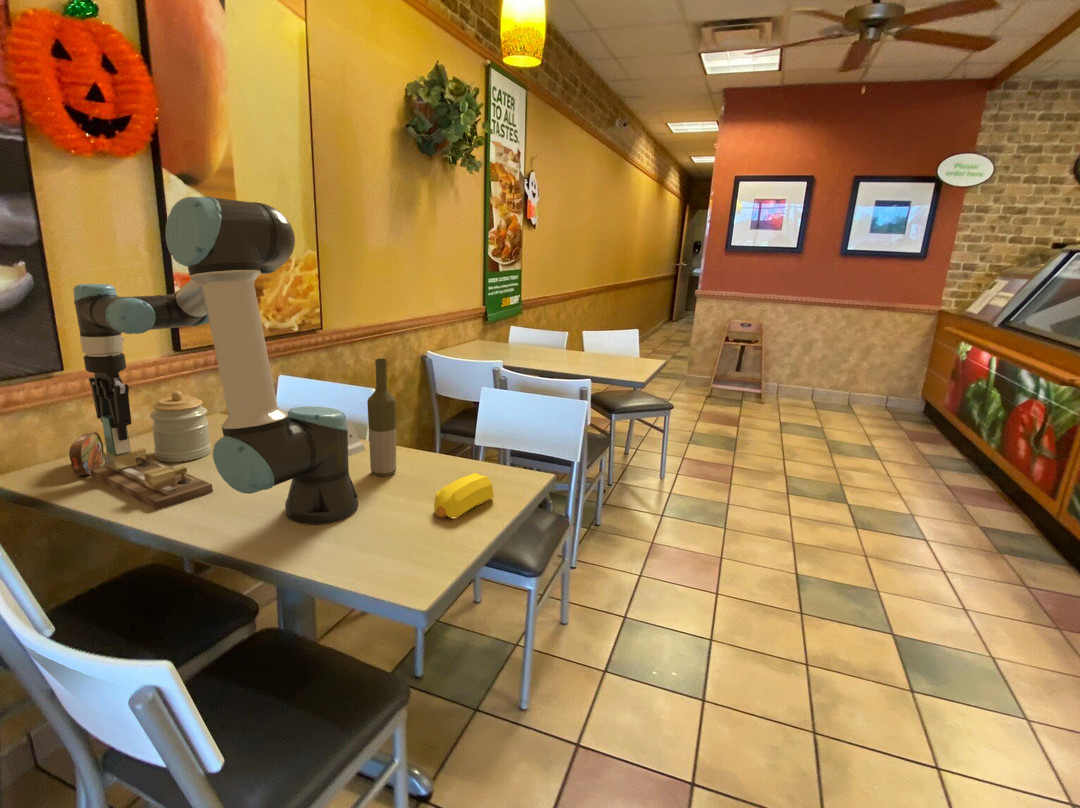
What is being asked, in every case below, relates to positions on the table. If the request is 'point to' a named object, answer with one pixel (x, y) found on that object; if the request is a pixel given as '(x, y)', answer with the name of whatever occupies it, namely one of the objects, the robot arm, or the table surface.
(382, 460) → the bottle
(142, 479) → the gauge board
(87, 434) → the tin
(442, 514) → the yellow rounded bar
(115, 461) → the slider
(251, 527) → the table surface
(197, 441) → the jar
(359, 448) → the hinge
